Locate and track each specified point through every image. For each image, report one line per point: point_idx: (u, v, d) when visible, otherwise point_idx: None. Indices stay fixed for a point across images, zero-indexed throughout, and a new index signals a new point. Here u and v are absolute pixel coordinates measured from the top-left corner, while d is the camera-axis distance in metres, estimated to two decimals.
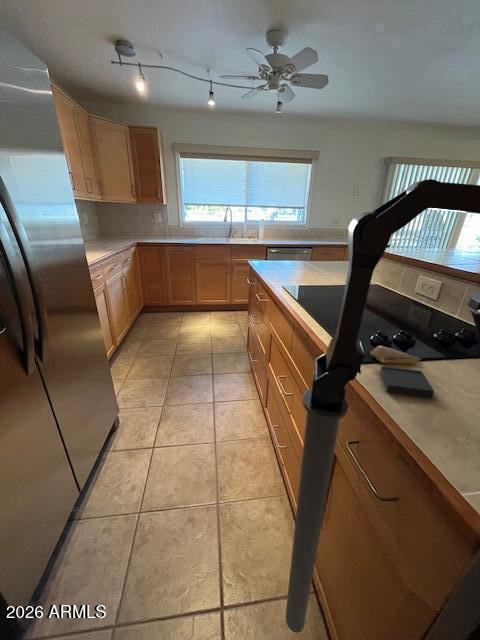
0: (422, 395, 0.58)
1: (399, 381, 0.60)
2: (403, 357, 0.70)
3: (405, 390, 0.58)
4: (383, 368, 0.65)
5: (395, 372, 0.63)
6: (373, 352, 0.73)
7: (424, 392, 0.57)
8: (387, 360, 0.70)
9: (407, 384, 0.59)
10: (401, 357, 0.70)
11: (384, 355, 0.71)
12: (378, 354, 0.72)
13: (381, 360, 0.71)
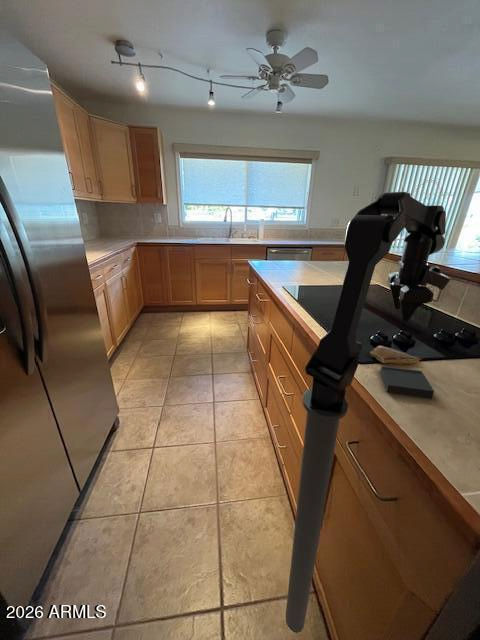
0: (422, 395, 0.58)
1: (399, 381, 0.60)
2: (403, 357, 0.70)
3: (405, 390, 0.58)
4: (383, 368, 0.65)
5: (395, 372, 0.63)
6: (373, 352, 0.73)
7: (424, 392, 0.57)
8: (387, 360, 0.70)
9: (407, 384, 0.59)
10: (401, 357, 0.70)
11: (384, 355, 0.71)
12: (378, 354, 0.72)
13: (381, 360, 0.71)
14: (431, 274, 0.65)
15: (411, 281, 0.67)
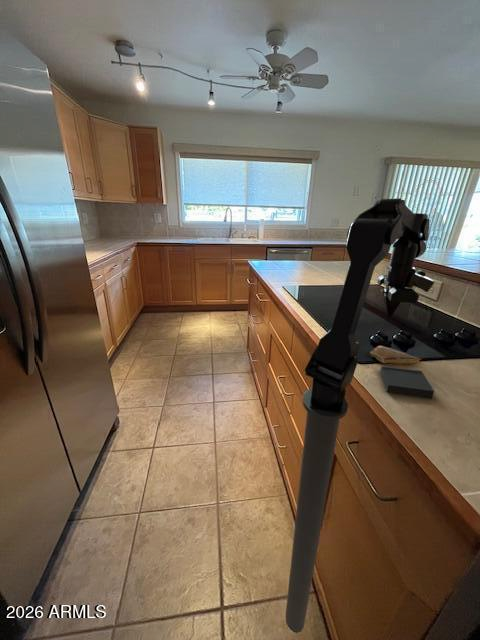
0: (422, 395, 0.58)
1: (399, 381, 0.60)
2: (403, 357, 0.70)
3: (405, 390, 0.58)
4: (383, 368, 0.65)
5: (395, 372, 0.63)
6: (373, 352, 0.73)
7: (424, 392, 0.57)
8: (387, 360, 0.70)
9: (407, 384, 0.59)
10: (401, 357, 0.70)
11: (384, 355, 0.71)
12: (378, 354, 0.72)
13: (381, 360, 0.71)
14: (417, 277, 0.70)
15: (398, 283, 0.71)
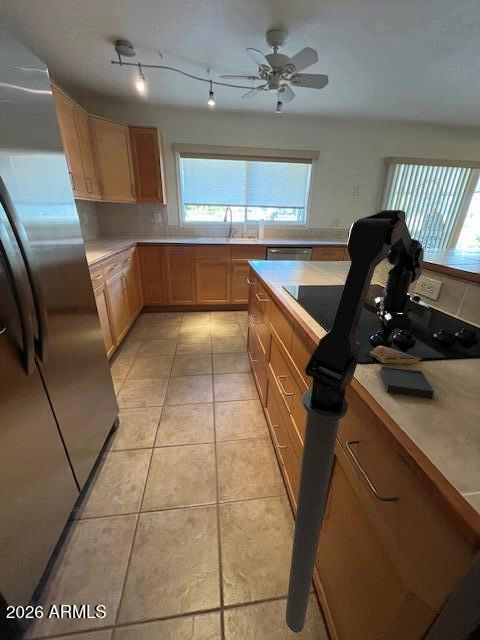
0: (422, 395, 0.58)
1: (399, 381, 0.60)
2: (403, 357, 0.70)
3: (405, 390, 0.58)
4: (383, 368, 0.65)
5: (395, 372, 0.63)
6: (373, 352, 0.73)
7: (424, 392, 0.57)
8: (387, 360, 0.70)
9: (407, 384, 0.59)
10: (401, 357, 0.70)
11: (384, 355, 0.71)
12: (378, 354, 0.72)
13: (381, 360, 0.71)
14: (412, 303, 0.72)
15: (394, 309, 0.73)
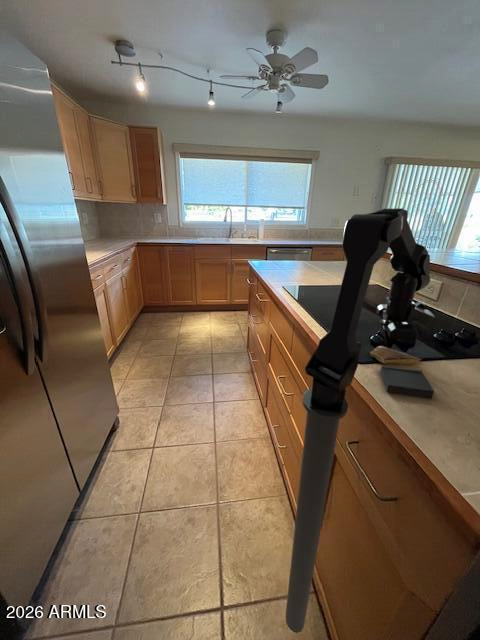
0: (422, 395, 0.58)
1: (399, 381, 0.60)
2: (403, 357, 0.70)
3: (405, 390, 0.58)
4: (383, 368, 0.65)
5: (395, 372, 0.63)
6: (373, 352, 0.72)
7: (424, 392, 0.57)
8: (387, 360, 0.69)
9: (407, 384, 0.59)
10: (401, 358, 0.70)
11: (384, 355, 0.71)
12: (378, 354, 0.72)
13: (381, 360, 0.71)
14: (416, 312, 0.68)
15: (398, 318, 0.69)
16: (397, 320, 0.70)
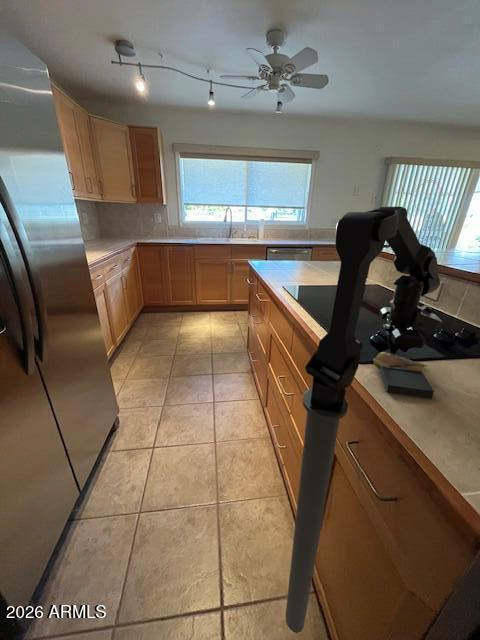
0: (422, 395, 0.58)
1: (399, 381, 0.60)
2: (408, 364, 0.67)
3: (405, 390, 0.58)
4: (383, 368, 0.65)
5: (395, 372, 0.63)
6: (376, 359, 0.69)
7: (424, 392, 0.57)
8: None
9: (407, 384, 0.59)
10: (406, 364, 0.67)
11: (388, 362, 0.68)
12: (382, 361, 0.68)
13: None
14: (422, 317, 0.64)
15: (402, 323, 0.66)
16: (402, 325, 0.66)
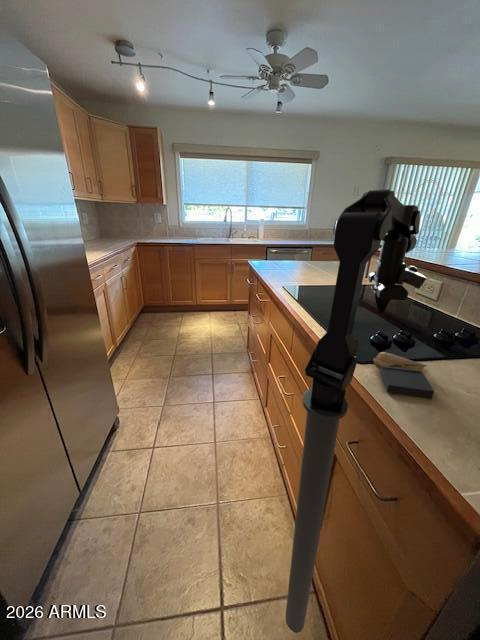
0: (422, 395, 0.58)
1: (399, 381, 0.60)
2: (408, 364, 0.67)
3: (405, 390, 0.58)
4: (383, 368, 0.65)
5: (395, 372, 0.63)
6: (376, 359, 0.69)
7: (424, 392, 0.57)
8: None
9: (407, 384, 0.59)
10: (406, 364, 0.67)
11: (388, 362, 0.68)
12: (382, 361, 0.68)
13: None
14: (407, 273, 0.66)
15: (388, 280, 0.68)
16: (387, 282, 0.68)
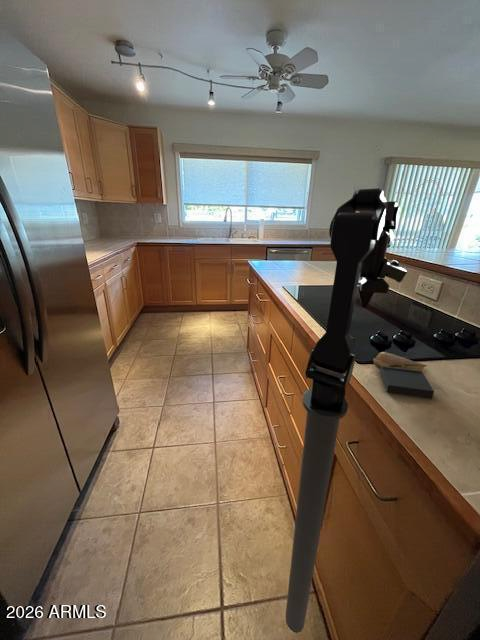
0: (422, 395, 0.58)
1: (399, 381, 0.60)
2: (408, 364, 0.67)
3: (405, 390, 0.58)
4: (383, 368, 0.65)
5: (395, 372, 0.63)
6: (376, 359, 0.69)
7: (424, 392, 0.57)
8: None
9: (407, 384, 0.59)
10: (406, 364, 0.67)
11: (388, 362, 0.68)
12: (382, 361, 0.68)
13: None
14: (389, 267, 0.68)
15: (371, 274, 0.69)
16: (370, 276, 0.70)
